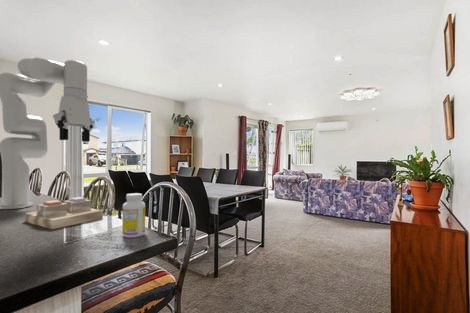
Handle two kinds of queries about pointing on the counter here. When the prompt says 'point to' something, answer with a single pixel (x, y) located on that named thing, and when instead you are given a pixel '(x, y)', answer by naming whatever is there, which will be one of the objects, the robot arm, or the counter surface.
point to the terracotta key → (52, 203)
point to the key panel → (63, 214)
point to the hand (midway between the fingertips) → (75, 140)
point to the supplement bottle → (133, 216)
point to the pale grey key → (77, 199)
